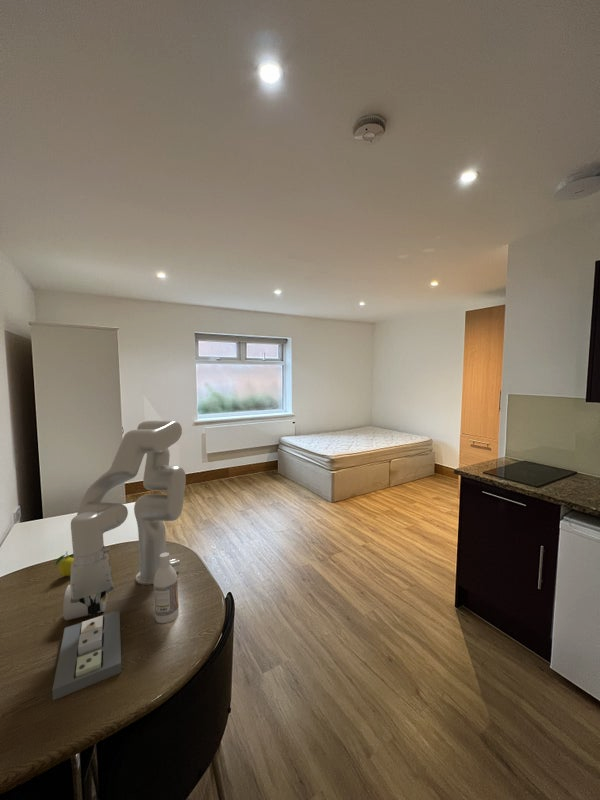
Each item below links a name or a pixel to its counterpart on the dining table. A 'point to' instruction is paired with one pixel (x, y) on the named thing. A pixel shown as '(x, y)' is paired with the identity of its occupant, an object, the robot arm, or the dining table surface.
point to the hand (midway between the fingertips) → (94, 614)
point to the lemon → (65, 565)
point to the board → (69, 654)
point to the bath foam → (165, 591)
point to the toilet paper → (79, 606)
